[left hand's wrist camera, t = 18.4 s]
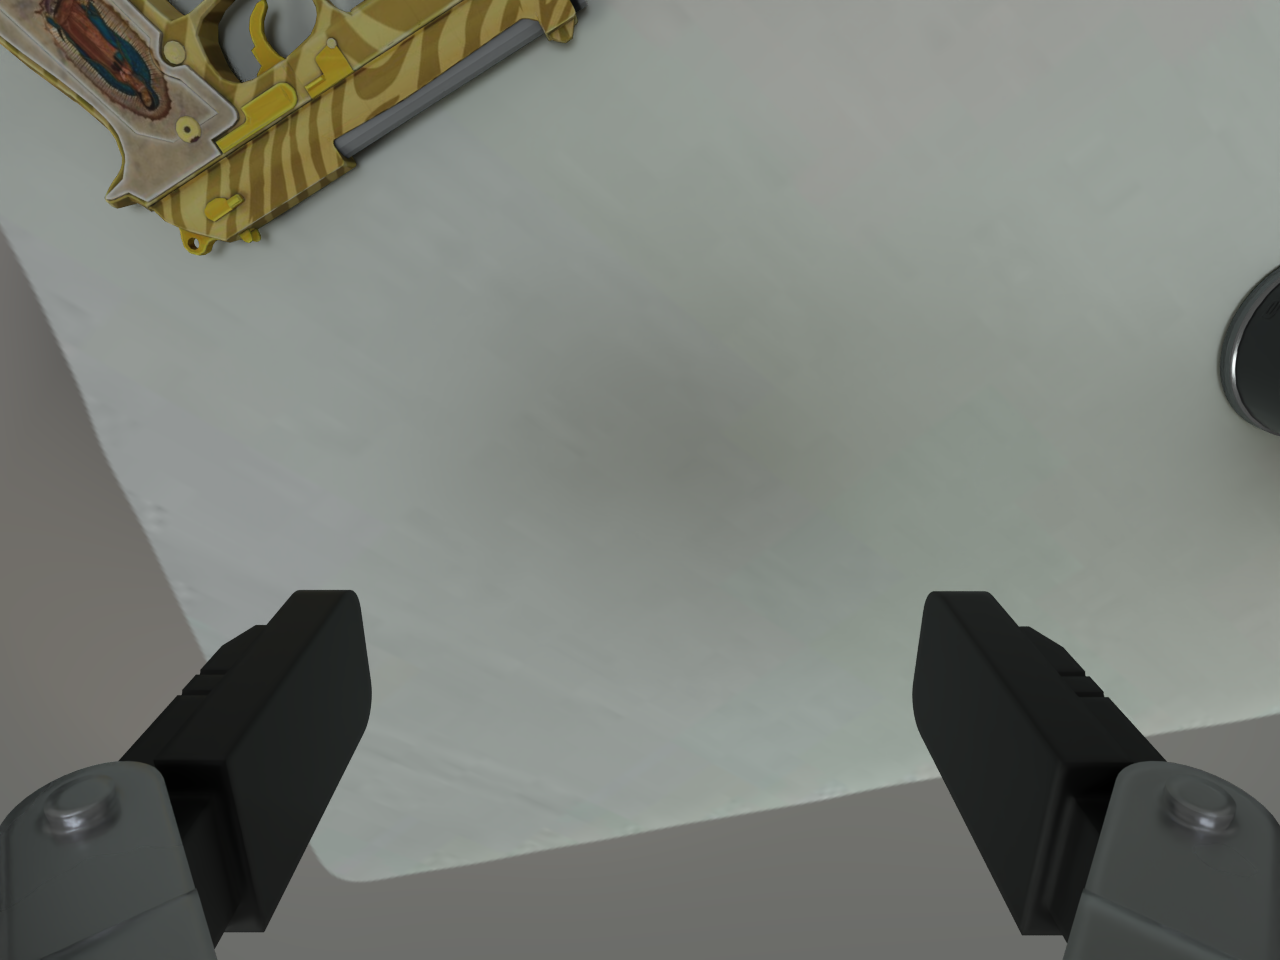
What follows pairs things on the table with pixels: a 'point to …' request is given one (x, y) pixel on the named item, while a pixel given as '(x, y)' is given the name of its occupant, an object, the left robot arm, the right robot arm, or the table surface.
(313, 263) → the table surface
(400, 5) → the handgun
